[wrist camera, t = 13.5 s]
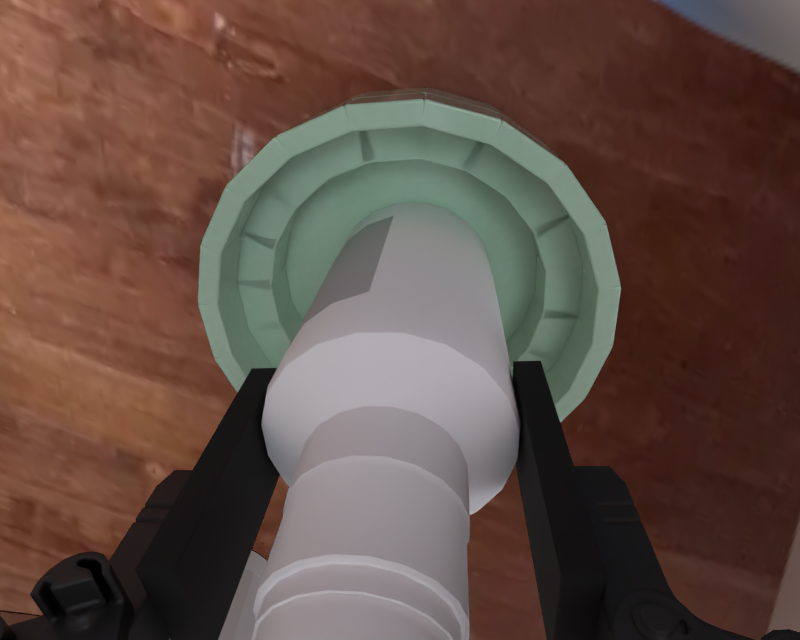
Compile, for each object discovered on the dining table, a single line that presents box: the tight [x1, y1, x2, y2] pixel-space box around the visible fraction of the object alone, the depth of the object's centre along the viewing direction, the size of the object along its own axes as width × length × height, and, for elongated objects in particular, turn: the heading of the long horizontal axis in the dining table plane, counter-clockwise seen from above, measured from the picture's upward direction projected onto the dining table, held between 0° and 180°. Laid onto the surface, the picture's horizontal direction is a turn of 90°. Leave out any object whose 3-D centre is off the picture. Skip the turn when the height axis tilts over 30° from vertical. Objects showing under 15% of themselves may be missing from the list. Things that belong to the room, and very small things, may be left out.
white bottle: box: [252, 202, 521, 640], centre depth 15 cm, size 7×7×18 cm
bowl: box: [198, 87, 621, 422], centre depth 21 cm, size 16×16×5 cm
